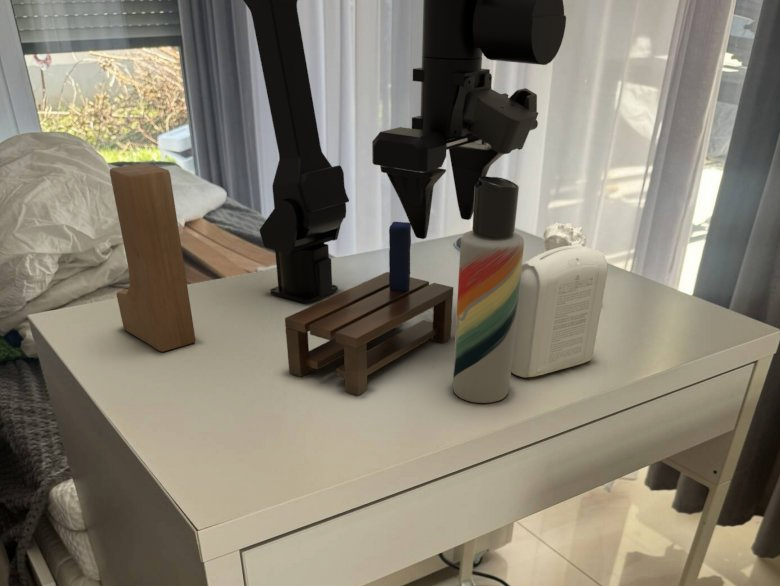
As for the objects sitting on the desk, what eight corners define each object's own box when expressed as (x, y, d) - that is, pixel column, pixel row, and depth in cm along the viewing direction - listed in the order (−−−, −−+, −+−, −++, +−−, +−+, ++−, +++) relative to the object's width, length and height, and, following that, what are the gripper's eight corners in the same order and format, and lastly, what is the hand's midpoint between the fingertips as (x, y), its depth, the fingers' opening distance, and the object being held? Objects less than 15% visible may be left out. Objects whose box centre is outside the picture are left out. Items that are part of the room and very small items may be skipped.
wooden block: (122, 329, 90) (86, 160, 79) (157, 320, 92) (127, 154, 81) (161, 353, 84) (128, 175, 74) (197, 343, 87) (171, 169, 76)
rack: (288, 373, 81) (284, 317, 77) (386, 321, 93) (387, 271, 89) (357, 396, 77) (356, 338, 73) (450, 338, 89) (453, 287, 85)
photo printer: (570, 348, 87) (588, 235, 80) (598, 362, 84) (618, 245, 77) (500, 368, 83) (511, 250, 75) (526, 383, 80) (540, 262, 72)
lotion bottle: (449, 379, 80) (459, 170, 68) (503, 378, 81) (523, 170, 69) (456, 405, 76) (469, 185, 64) (513, 403, 76) (537, 185, 64)
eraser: (411, 286, 85) (412, 221, 81) (407, 292, 84) (408, 227, 80) (392, 284, 86) (392, 220, 82) (387, 291, 84) (387, 225, 80)
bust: (586, 315, 101) (554, 234, 100) (632, 292, 95) (598, 205, 94) (527, 338, 95) (492, 251, 94) (572, 315, 89) (534, 222, 87)
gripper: (477, 71, 63) (465, 264, 73) (571, 55, 76) (550, 221, 85) (367, 61, 68) (369, 243, 77) (472, 48, 81) (463, 206, 90)
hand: (444, 228), depth 82 cm, fingers open, 9 cm apart
